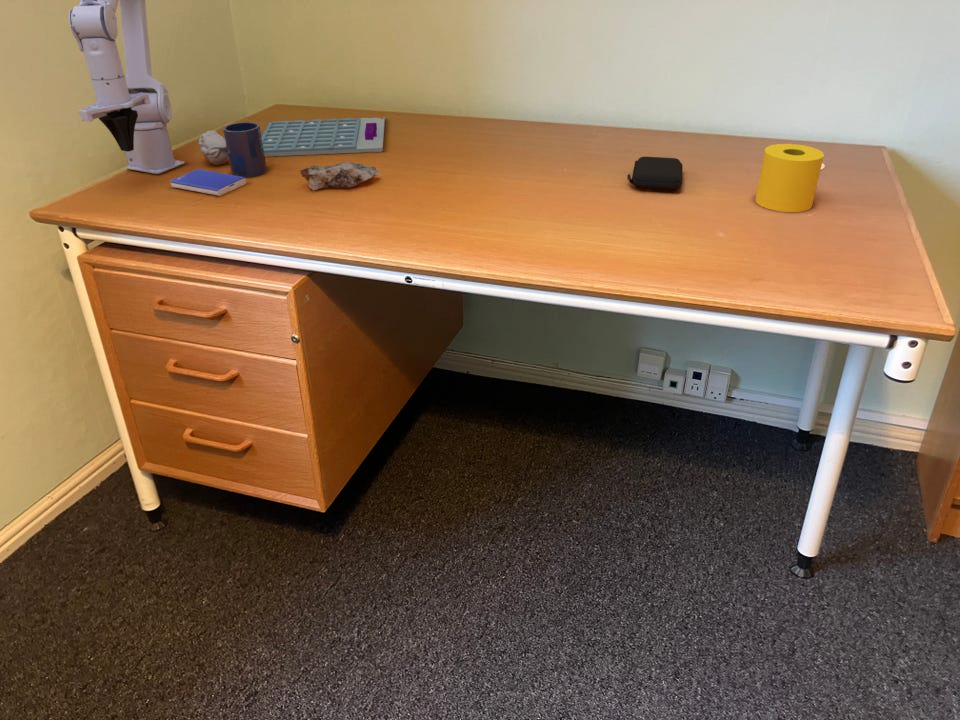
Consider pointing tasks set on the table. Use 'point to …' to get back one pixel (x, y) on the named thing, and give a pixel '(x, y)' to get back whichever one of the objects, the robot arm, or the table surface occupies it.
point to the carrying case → (657, 174)
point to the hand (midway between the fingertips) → (127, 150)
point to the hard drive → (208, 182)
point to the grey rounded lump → (213, 147)
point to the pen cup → (245, 149)
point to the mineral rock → (338, 175)
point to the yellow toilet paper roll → (789, 177)
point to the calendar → (323, 136)
